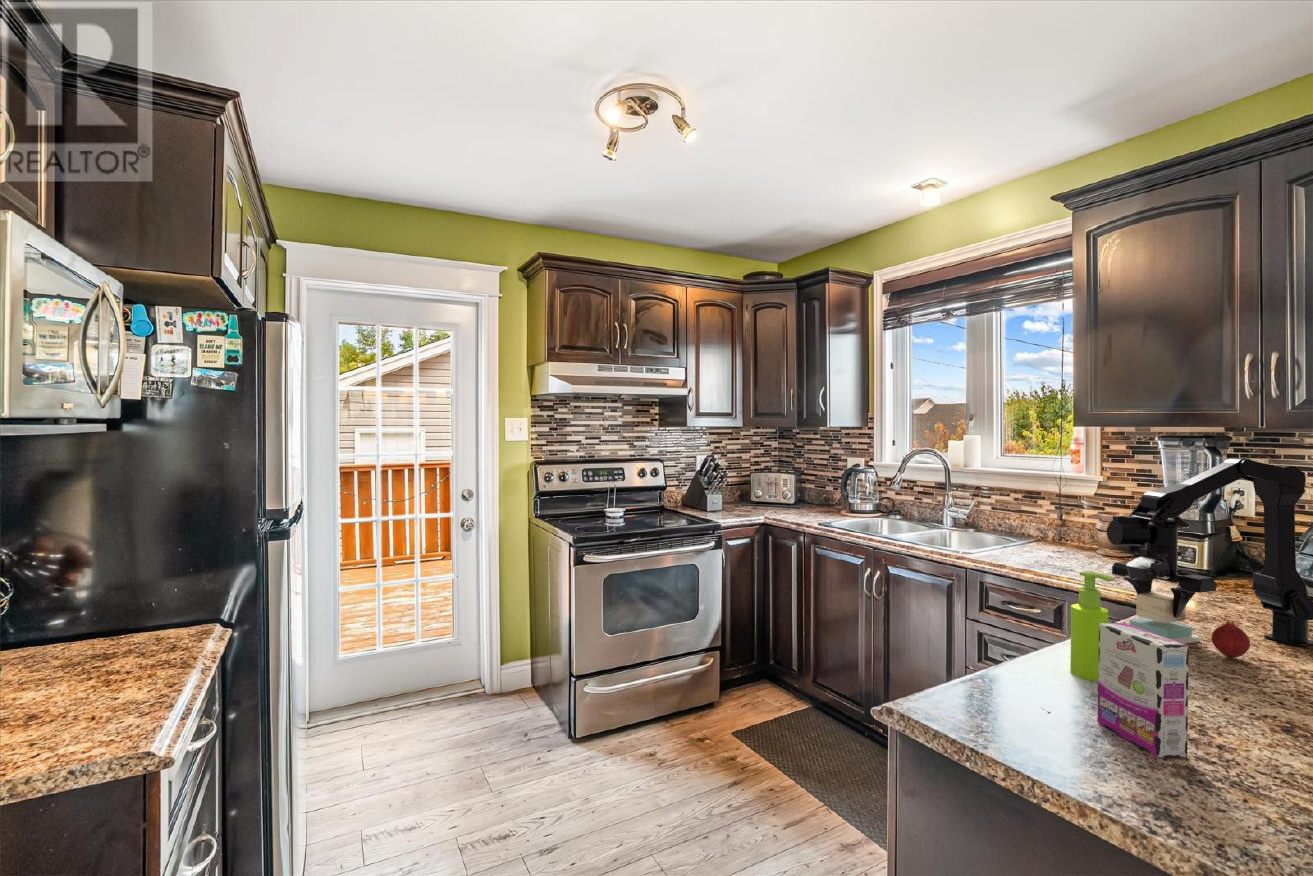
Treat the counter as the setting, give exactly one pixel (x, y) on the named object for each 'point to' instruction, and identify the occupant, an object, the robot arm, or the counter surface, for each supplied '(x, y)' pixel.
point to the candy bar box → (1144, 689)
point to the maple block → (1157, 607)
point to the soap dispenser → (1087, 628)
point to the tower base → (1167, 630)
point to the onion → (1230, 640)
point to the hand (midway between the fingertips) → (1160, 613)
